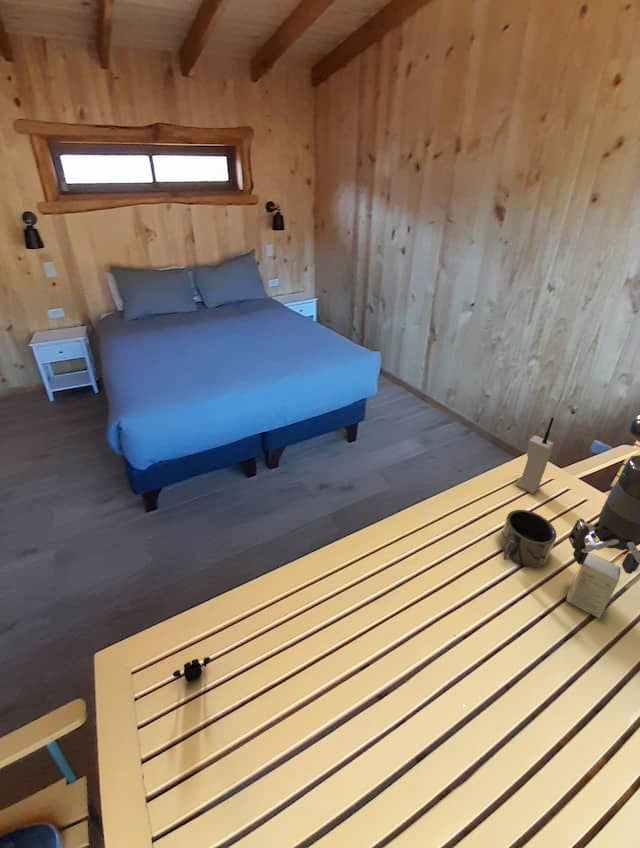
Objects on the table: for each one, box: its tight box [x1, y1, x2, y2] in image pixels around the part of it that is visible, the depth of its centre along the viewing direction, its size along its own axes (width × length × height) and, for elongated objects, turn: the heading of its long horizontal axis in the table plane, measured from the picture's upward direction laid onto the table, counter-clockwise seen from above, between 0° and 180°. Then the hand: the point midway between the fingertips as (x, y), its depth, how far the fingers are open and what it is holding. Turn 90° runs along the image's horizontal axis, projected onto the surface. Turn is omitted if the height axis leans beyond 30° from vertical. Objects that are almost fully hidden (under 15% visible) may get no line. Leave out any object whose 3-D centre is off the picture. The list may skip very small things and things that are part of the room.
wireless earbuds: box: [172, 656, 211, 682], centre depth 75 cm, size 7×2×5 cm, turn 113°
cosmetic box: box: [566, 552, 622, 619], centre depth 85 cm, size 6×4×12 cm
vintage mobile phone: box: [515, 417, 555, 494], centre depth 114 cm, size 4×5×25 cm
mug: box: [499, 509, 557, 568], centre depth 98 cm, size 14×10×8 cm
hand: (601, 565), depth 82 cm, fingers open, 8 cm apart
